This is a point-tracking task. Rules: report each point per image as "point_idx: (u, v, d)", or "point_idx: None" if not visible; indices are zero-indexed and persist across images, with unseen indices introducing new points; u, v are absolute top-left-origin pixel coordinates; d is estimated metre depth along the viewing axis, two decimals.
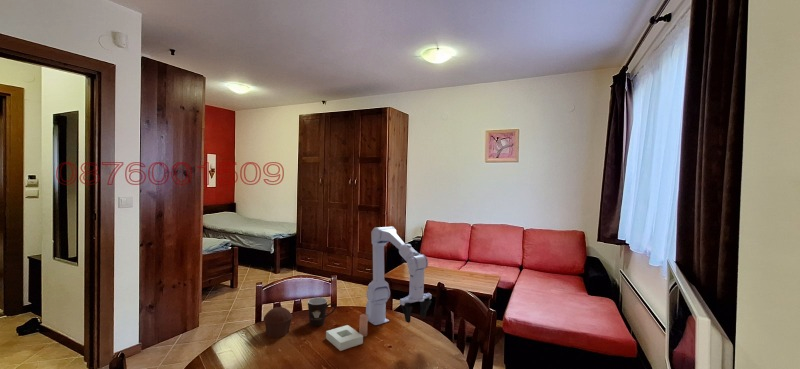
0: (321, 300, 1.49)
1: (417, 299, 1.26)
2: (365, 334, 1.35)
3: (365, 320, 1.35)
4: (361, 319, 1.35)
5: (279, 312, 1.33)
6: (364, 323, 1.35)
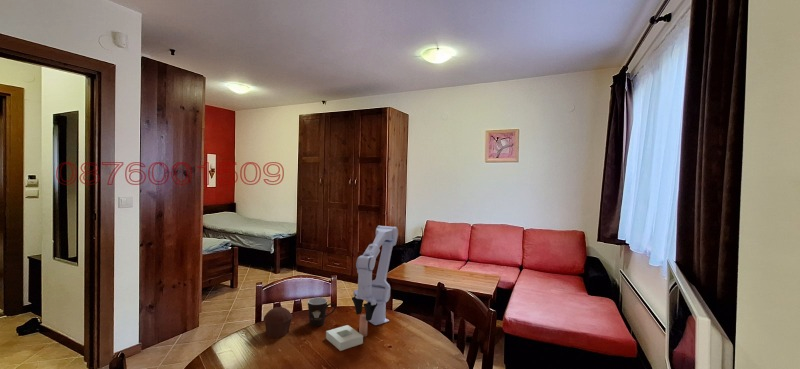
0: (321, 300, 1.49)
1: (357, 295, 1.35)
2: (365, 334, 1.35)
3: (365, 320, 1.35)
4: (361, 319, 1.35)
5: (279, 312, 1.33)
6: (364, 323, 1.35)
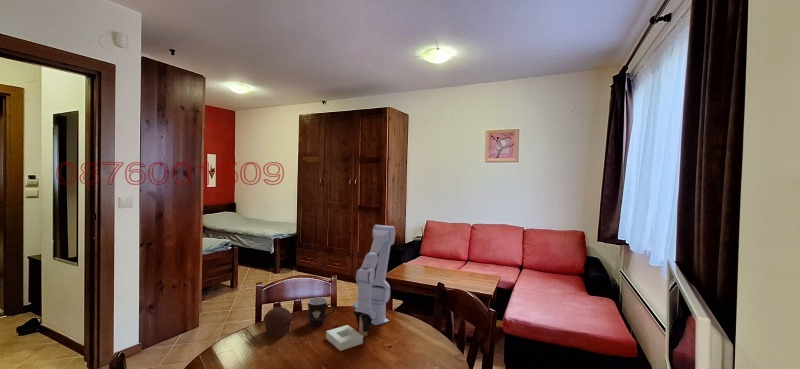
0: (321, 300, 1.49)
1: (356, 308, 1.35)
2: (365, 334, 1.35)
3: None
4: (361, 319, 1.35)
5: (279, 312, 1.33)
6: None
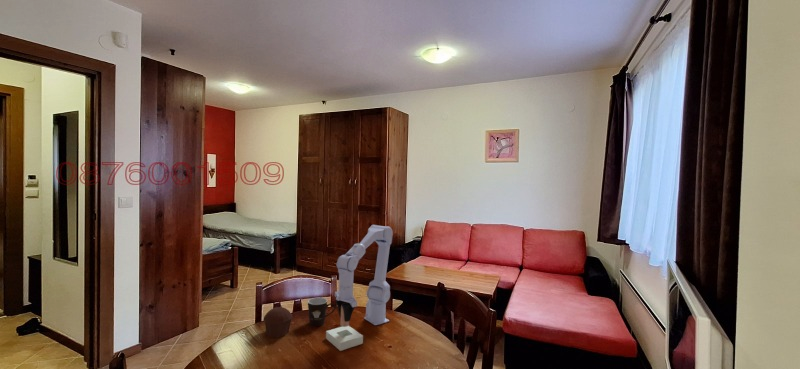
0: (321, 300, 1.49)
1: (338, 296, 1.30)
2: (346, 324, 1.29)
3: None
4: (342, 308, 1.29)
5: (279, 312, 1.33)
6: None
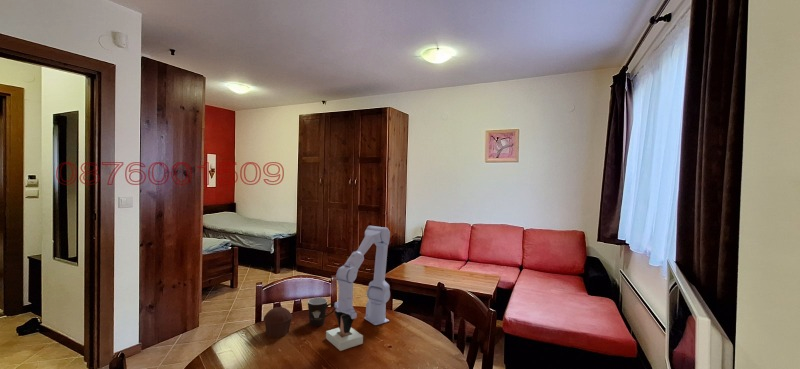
0: (321, 300, 1.49)
1: (337, 308, 1.30)
2: (346, 335, 1.29)
3: None
4: None
5: (279, 312, 1.33)
6: None
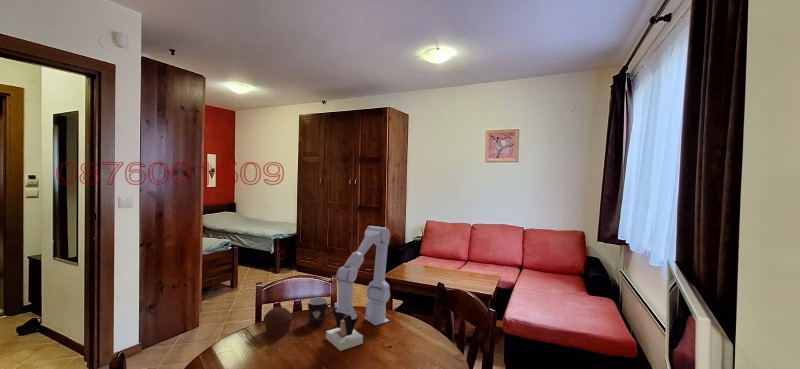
0: (321, 300, 1.49)
1: (337, 308, 1.30)
2: None
3: None
4: (342, 324, 1.29)
5: (279, 312, 1.33)
6: (345, 329, 1.29)
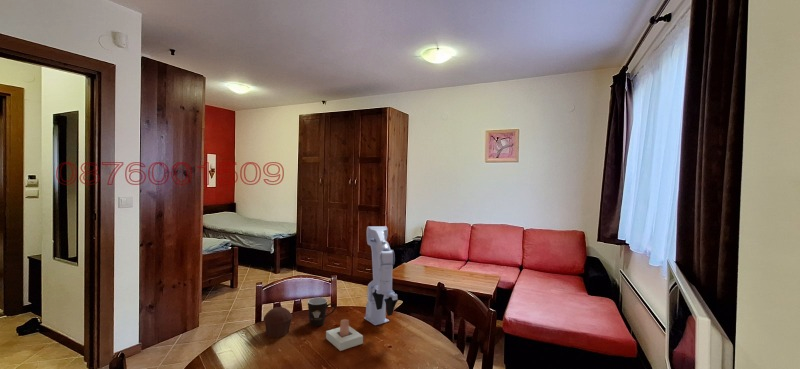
0: (321, 300, 1.49)
1: (378, 290, 1.35)
2: None
3: (346, 325, 1.29)
4: (342, 324, 1.29)
5: (279, 312, 1.33)
6: (345, 329, 1.29)
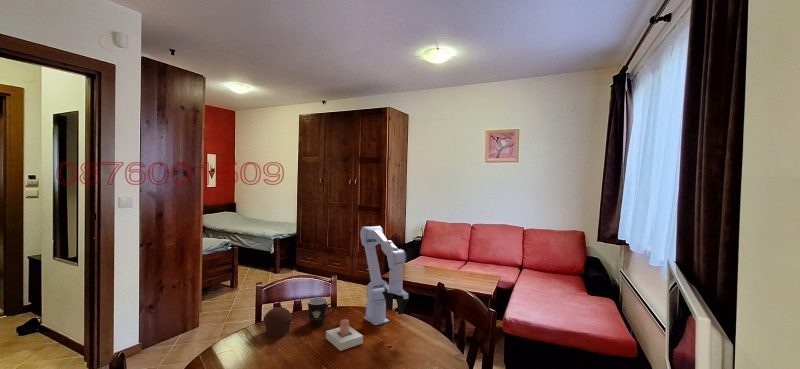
0: (321, 300, 1.49)
1: (388, 289, 1.37)
2: None
3: (346, 325, 1.29)
4: (342, 324, 1.29)
5: (279, 312, 1.33)
6: (345, 329, 1.29)
